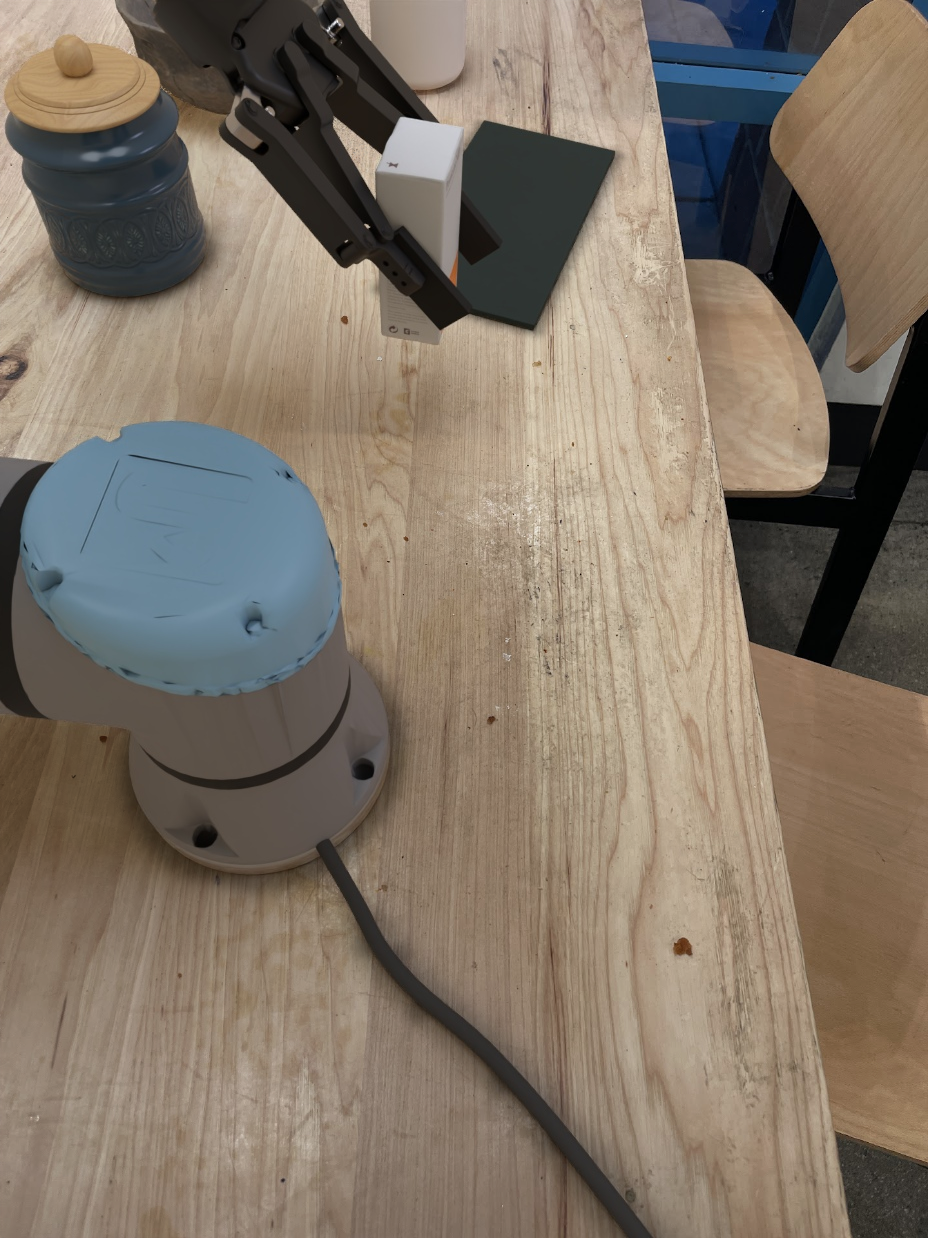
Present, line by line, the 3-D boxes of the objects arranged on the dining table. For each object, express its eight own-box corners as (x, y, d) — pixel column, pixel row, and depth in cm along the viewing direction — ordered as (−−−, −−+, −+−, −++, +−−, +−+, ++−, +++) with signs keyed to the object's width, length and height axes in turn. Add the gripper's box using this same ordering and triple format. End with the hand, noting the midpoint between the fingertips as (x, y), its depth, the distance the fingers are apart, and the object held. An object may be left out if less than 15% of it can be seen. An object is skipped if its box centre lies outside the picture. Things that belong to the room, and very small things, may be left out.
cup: (463, 97, 94) (467, -9, 85) (369, 93, 94) (364, -14, 85) (464, 49, 99) (468, -56, 91) (375, 45, 99) (371, -61, 90)
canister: (36, 291, 75) (-61, 73, 60) (88, 201, 82) (13, -15, 67) (186, 308, 75) (126, 93, 60) (226, 216, 82) (181, 2, 67)
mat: (533, 330, 75) (534, 324, 75) (380, 289, 77) (380, 283, 77) (614, 156, 89) (615, 150, 89) (483, 125, 91) (484, 119, 91)
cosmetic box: (440, 347, 60) (444, 182, 50) (380, 337, 60) (371, 170, 50) (458, 290, 63) (466, 124, 53) (400, 281, 64) (397, 113, 53)
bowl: (184, 29, 99) (162, -78, 90) (362, 56, 97) (357, -50, 89) (108, 129, 88) (74, 18, 80) (307, 161, 87) (294, 52, 78)
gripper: (232, -72, 54) (474, 226, 66) (68, 88, 44) (386, 403, 56) (303, -168, 49) (551, 174, 61) (134, -12, 39) (469, 359, 51)
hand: (471, 284), depth 59 cm, fingers closed on cosmetic box, 6 cm apart
